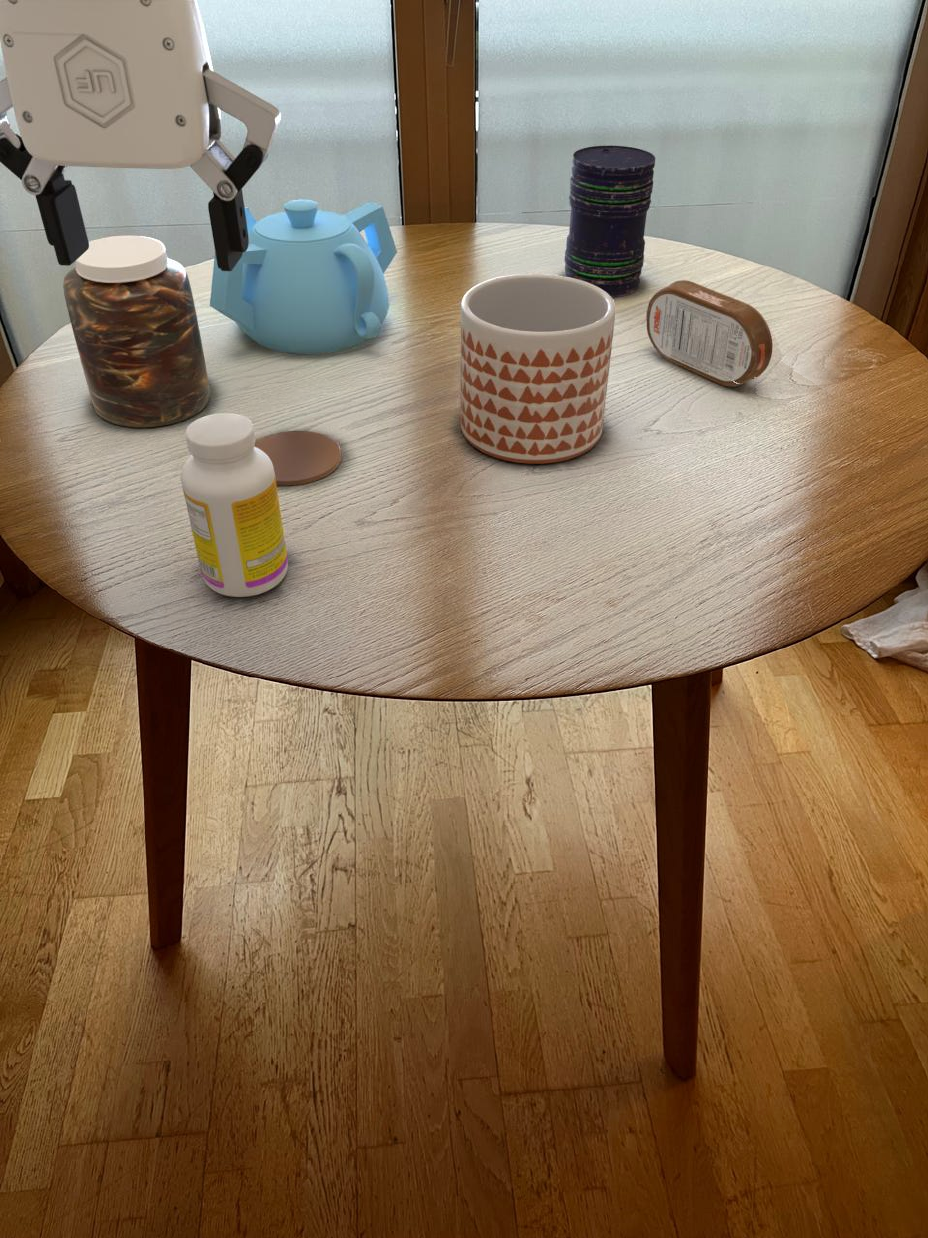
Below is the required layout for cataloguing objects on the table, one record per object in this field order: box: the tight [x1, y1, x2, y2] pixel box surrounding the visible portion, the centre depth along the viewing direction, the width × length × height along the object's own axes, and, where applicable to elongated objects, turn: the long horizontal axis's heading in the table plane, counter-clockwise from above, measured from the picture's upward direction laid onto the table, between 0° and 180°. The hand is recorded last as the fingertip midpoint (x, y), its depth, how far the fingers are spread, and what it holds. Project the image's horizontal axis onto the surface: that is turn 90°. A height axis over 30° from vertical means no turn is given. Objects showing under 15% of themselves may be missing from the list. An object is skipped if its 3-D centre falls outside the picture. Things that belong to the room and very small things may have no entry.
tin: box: [645, 279, 774, 387], centre depth 100 cm, size 15×3×8 cm, turn 40°
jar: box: [62, 235, 211, 428], centre depth 92 cm, size 12×12×15 cm
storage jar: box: [563, 145, 656, 298], centre depth 117 cm, size 10×10×15 cm
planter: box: [460, 273, 617, 465], centre depth 89 cm, size 14×14×13 cm
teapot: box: [209, 198, 398, 355], centre depth 106 cm, size 19×19×14 cm
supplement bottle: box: [180, 412, 289, 598], centre depth 71 cm, size 7×7×13 cm
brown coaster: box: [254, 430, 342, 486], centre depth 88 cm, size 9×9×1 cm
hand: (152, 260), depth 58 cm, fingers open, 9 cm apart
